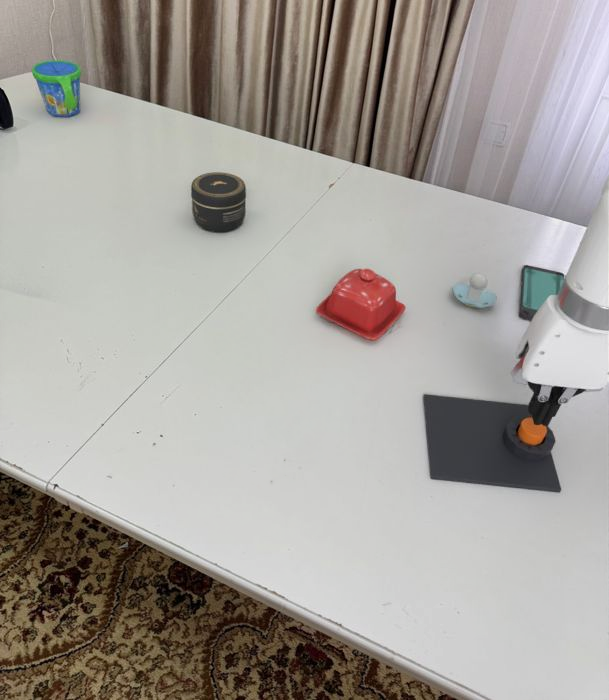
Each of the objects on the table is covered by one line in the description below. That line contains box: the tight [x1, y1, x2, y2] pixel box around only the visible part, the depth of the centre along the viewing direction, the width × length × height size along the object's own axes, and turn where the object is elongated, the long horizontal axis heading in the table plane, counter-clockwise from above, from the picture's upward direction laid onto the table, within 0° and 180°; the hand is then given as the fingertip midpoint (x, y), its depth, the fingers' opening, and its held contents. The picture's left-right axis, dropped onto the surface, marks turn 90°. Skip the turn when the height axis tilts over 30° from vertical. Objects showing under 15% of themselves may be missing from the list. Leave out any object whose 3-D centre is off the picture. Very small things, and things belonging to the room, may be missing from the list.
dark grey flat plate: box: [422, 393, 562, 494], centre depth 81 cm, size 16×14×2 cm
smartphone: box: [518, 264, 565, 322], centre depth 106 cm, size 7×1×15 cm
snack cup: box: [31, 59, 82, 118], centre depth 146 cm, size 16×10×10 cm
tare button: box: [518, 418, 547, 445], centre depth 80 cm, size 3×3×2 cm
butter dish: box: [315, 268, 406, 341], centre depth 97 cm, size 12×12×8 cm
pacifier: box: [452, 272, 498, 309], centre depth 103 cm, size 7×6×6 cm
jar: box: [190, 171, 247, 234], centre depth 115 cm, size 10×10×8 cm
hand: (538, 416), depth 78 cm, fingers closed
